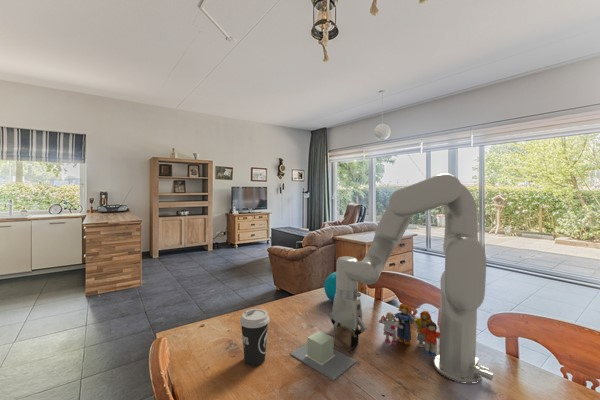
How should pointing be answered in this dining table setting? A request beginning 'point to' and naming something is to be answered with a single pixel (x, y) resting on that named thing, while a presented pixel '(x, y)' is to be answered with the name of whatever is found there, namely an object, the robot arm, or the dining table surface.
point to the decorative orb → (330, 286)
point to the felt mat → (326, 362)
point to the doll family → (423, 325)
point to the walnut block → (343, 337)
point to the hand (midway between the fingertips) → (346, 342)
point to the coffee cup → (254, 335)
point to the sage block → (320, 346)
